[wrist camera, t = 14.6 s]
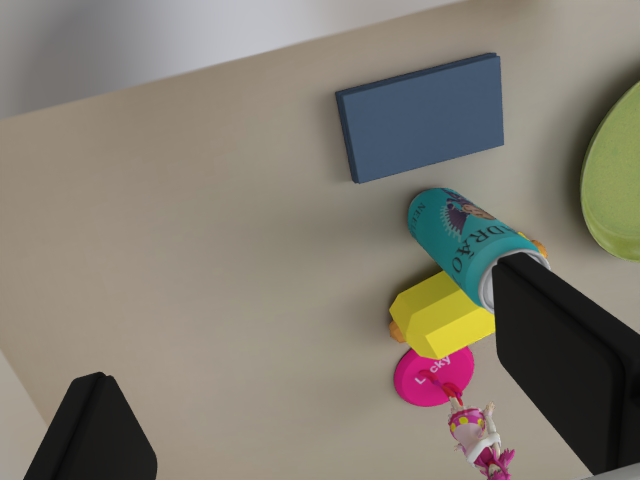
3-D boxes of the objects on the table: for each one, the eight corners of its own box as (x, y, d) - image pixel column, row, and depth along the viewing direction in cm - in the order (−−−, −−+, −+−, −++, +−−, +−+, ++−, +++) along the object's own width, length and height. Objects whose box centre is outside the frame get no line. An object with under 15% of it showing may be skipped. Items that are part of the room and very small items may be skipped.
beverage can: (459, 179, 43) (562, 241, 29) (455, 235, 45) (549, 315, 32) (402, 185, 42) (479, 251, 29) (401, 241, 45) (472, 326, 31)
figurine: (442, 322, 49) (520, 426, 36) (488, 367, 53) (574, 477, 40) (377, 377, 51) (427, 497, 37) (426, 417, 55) (489, 540, 41)
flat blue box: (335, 91, 38) (339, 94, 36) (490, 52, 39) (502, 52, 37) (352, 180, 41) (357, 186, 40) (495, 142, 42) (506, 146, 40)
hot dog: (369, 301, 47) (400, 349, 50) (389, 339, 41) (422, 391, 44) (522, 210, 45) (543, 266, 49) (565, 235, 39) (587, 297, 43)
